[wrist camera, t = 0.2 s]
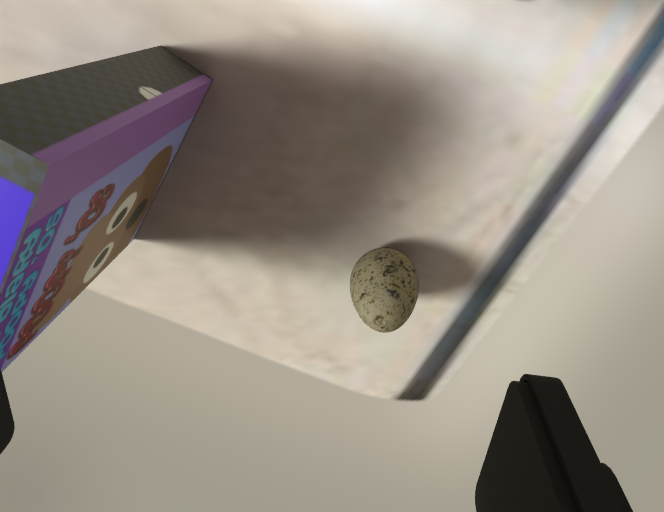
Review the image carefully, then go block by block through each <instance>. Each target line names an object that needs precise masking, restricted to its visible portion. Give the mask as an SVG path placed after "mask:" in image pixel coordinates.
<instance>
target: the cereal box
mask: <svg viewBox="0 0 664 512" xmlns="http://www.w3.org/2000/svg"><path fill="white" fill-rule="evenodd" d="M212 81H213V79H211V78H210V77H208V76H207V75H205V74H204V73H202V72H200V71H199V70H197V69H196V68H194V67H193V66H191V65H190V64H188V63H186V62H185V61H183V60H182V59H180V58H179V57H177V56H175V55H174V54H172V53H171V52H169V51H168V50H166V49H165V48H163V47H161V46H157V47H153V48H149V49H145V50H141V51H137V52H133V53H128V54H124V55H120V56H116V57H112V58H108V59H104V60H99V61H95V62H91V63H87V64H83V65H79V66H75V67H71V68H66V69H62V70H58V71H54V72H50V73H46V74H42V75H37V76H33V77H29V78H25V79H21V80H17V81H13V82H9V83H4V84H0V368H1V372H3V370H4V369H5V368H6V367H7V366H8V365H9V364H10V363H11V362H12V361H13V360H14V359H15V358H16V357H17V356H18V355H19V354H20V353H21V352H22V351H23V350H24V349H25V348H26V347H27V346H28V345H29V344H30V343H31V342H32V341H33V340H34V339H35V338H36V337H37V336H38V335H39V334H40V333H41V332H42V331H43V330H44V329H45V328H46V327H47V326H48V325H49V324H50V323H51V322H52V321H53V320H54V319H55V318H56V317H57V316H58V315H59V314H60V313H61V312H62V311H63V310H64V309H65V308H66V307H67V306H68V305H69V304H70V303H71V302H72V301H73V300H74V299H75V298H76V297H77V296H78V295H79V294H80V293H81V292H82V291H83V290H84V289H85V288H86V287H87V286H88V285H89V284H90V283H91V282H92V281H93V280H94V279H95V278H96V277H97V276H98V275H99V274H100V273H101V272H102V271H103V270H104V269H105V268H106V267H107V266H108V265H109V264H110V263H111V262H112V261H113V260H114V259H115V258H116V257H117V256H118V255H119V254H120V253H121V252H122V251H123V250H124V249H125V248H126V247H127V246H128V244H129V243H130V242H131V241H132V240H133V239H134V238H135V236H136V234H137V232H138V230H139V228H140V226H141V224H142V222H143V220H144V218H145V216H146V214H147V212H148V210H149V208H150V206H151V204H152V201H153V199H154V197H155V195H156V193H157V191H158V189H159V187H160V185H161V183H162V181H163V179H164V177H165V175H166V173H167V171H168V169H169V167H170V165H171V163H172V161H173V159H174V157H175V155H176V153H177V151H178V149H179V147H180V145H181V143H182V141H183V139H184V137H185V135H186V133H187V131H188V129H189V127H190V125H191V123H192V121H193V119H194V117H195V115H196V113H197V111H198V109H199V107H200V105H201V103H202V101H203V99H204V97H205V95H206V93H207V91H208V89H209V87H210V85H211V83H212Z"/></svg>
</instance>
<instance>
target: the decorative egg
mask: <svg viewBox="0 0 664 512" xmlns="http://www.w3.org/2000/svg"><path fill="white" fill-rule="evenodd" d="M418 290H419V282H418V276H417V272H416V270H415V268H414V266H413V264H412V262H411V261H410V260H409V259H408V258H407V257H406V256H405V255H404V254H402V253H401V252H399V251H397V250H394V249H390V248H378V249H374V250H372V251H369V252H368V253H366V254H365V255H363V256H362V257H361V258H360V259H359V260H358V262H357V263H356V265H355V266H354V268H353V271H352V274H351V279H350V292H351V297H352V301H353V304H354V306H355V309H356V311H357V312H358V314H359V316H360V318H361V319H362V320H363V321H364V323H365V324H367V325H368V326H369V327H370V328H372V329H374V330H376V331H379V332H391V331H394V330H396V329H398V328H399V327H401V326H402V325H403V324H404V323H405V322H406V321H407V320H408V318H409V317H410V315H411V313H412V311H413V309H414V307H415V304H416V301H417V297H418Z"/></svg>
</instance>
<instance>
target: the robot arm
mask: <svg viewBox="0 0 664 512" xmlns="http://www.w3.org/2000/svg"><path fill="white" fill-rule="evenodd" d="M13 433H14V421H13V417H12V413H11V408H10V404H9V400H8V396H7V392H6V389H5V384H4V380H3V376H2V372H1V368H0V454H1V453H2V451H3V450H4V449H5V448H6V446H7V445H8V444H9V442H10V441H11V438H12V436H13ZM475 505H476V511H477V512H633V511H632V509H631V507H630V505H629V503H628V501H627V499H626V497H625V494H624V492H623V490H622V488H621V486H620V484H619V482H618V480H617V478H616V476H615V475H614V473H613V472H612V470H611V469H610V468H609V467H608V466H607V465H606V464H604V463H600V461H599V459H598V456H597V455H596V452H595V450H594V448H593V446H592V444H591V442H590V440H589V437H588V435H587V434H586V431H585V429H584V427H583V425H582V423H581V421H580V419H579V417H578V414H577V412H576V410H575V408H574V406H573V404H572V402H571V400H570V398H569V395H568V393H567V391H566V389H565V387H564V385H563V383H562V382H561V380H560V379H558V378H554V377H546V376H538V375H529V374H524V375H523V376H522V377H521V379H520V381H519V382H518V381H512V382H511V383H510V384H509V387H508V389H507V392H506V396H505V399H504V402H503V405H502V408H501V411H500V414H499V417H498V420H497V423H496V426H495V429H494V432H493V436H492V439H491V442H490V445H489V448H488V451H487V454H486V457H485V460H484V463H483V466H482V469H481V472H480V476H479V479H478V482H477V485H476V491H475Z"/></svg>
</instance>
